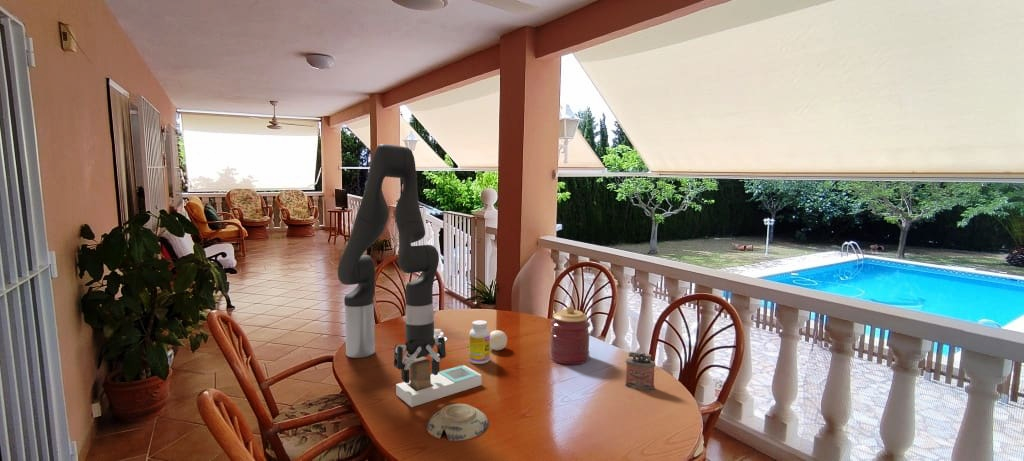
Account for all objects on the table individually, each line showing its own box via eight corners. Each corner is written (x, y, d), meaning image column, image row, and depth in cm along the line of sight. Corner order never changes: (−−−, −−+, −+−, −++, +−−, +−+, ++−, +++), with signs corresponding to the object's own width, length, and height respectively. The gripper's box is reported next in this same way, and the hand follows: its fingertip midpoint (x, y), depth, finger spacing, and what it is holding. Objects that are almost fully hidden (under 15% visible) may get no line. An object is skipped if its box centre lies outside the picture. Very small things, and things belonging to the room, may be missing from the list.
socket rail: (396, 394, 130) (396, 383, 130) (464, 374, 143) (464, 364, 143) (411, 407, 123) (411, 395, 123) (481, 384, 136) (481, 374, 136)
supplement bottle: (486, 365, 151) (486, 326, 149) (466, 363, 152) (466, 324, 151) (491, 358, 157) (492, 320, 156) (472, 356, 159) (472, 318, 157)
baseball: (511, 347, 167) (511, 329, 166) (500, 354, 161) (501, 335, 160) (494, 344, 170) (494, 326, 170) (483, 351, 164) (483, 332, 163)
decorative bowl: (491, 411, 122) (433, 409, 122) (491, 397, 122) (433, 395, 122) (486, 444, 107) (420, 441, 107) (486, 428, 107) (420, 426, 107)
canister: (570, 368, 149) (571, 313, 147) (541, 357, 158) (542, 305, 157) (597, 358, 157) (598, 306, 155) (567, 348, 167) (568, 298, 165)
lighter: (654, 386, 136) (655, 352, 135) (654, 391, 133) (655, 356, 132) (625, 382, 139) (626, 349, 138) (624, 386, 136) (625, 352, 135)
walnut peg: (410, 395, 130) (409, 359, 129) (423, 391, 132) (423, 356, 131) (417, 400, 127) (416, 364, 126) (430, 396, 129) (430, 360, 128)
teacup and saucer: (437, 335, 181) (437, 324, 181) (453, 339, 177) (453, 328, 176) (420, 341, 174) (420, 330, 174) (436, 345, 170) (436, 334, 169)
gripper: (436, 312, 135) (437, 367, 136) (388, 321, 126) (390, 380, 127) (450, 318, 129) (450, 376, 130) (401, 328, 120) (402, 390, 122)
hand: (420, 378), depth 129 cm, fingers open, 8 cm apart
